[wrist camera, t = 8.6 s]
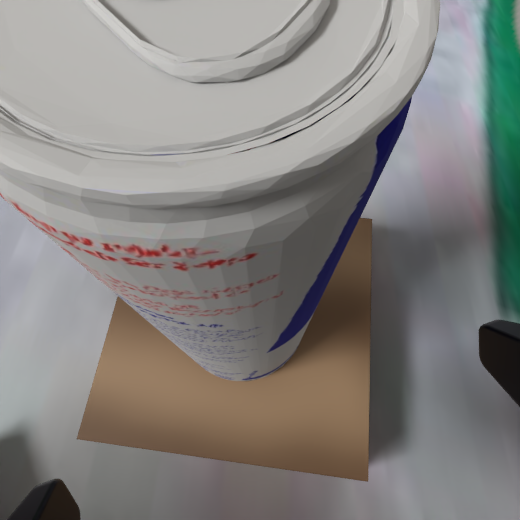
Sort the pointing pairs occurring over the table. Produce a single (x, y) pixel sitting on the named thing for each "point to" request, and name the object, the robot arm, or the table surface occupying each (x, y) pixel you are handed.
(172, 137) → the beverage can
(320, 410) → the stand
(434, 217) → the table surface
